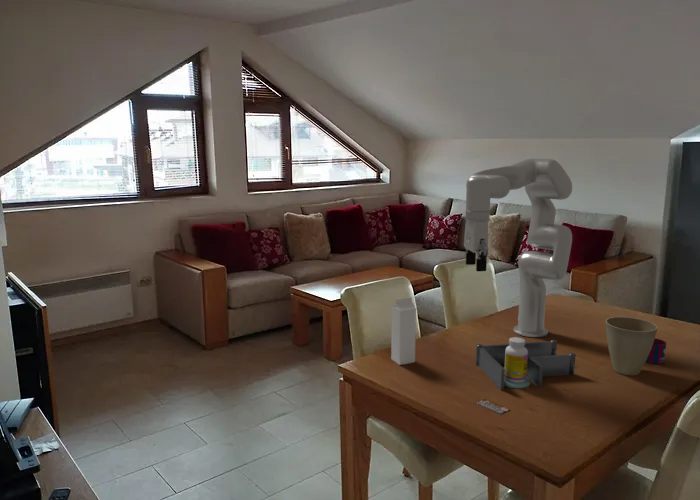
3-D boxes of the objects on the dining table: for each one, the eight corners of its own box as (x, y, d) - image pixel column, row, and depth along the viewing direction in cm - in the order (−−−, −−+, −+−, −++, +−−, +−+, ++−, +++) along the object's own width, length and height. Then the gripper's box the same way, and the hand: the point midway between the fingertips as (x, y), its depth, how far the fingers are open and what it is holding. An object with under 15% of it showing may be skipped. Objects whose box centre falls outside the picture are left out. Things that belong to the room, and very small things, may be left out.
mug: (659, 366, 191) (661, 346, 190) (628, 357, 199) (630, 338, 197) (667, 361, 195) (669, 341, 194) (637, 352, 203) (639, 334, 202)
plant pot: (650, 384, 177) (655, 334, 174) (598, 374, 185) (602, 326, 182) (654, 367, 190) (659, 321, 187) (605, 358, 198) (609, 313, 194)
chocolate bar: (514, 412, 161) (514, 410, 161) (503, 418, 158) (503, 415, 158) (482, 398, 170) (482, 396, 169) (471, 403, 167) (471, 401, 166)
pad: (495, 377, 183) (495, 374, 183) (522, 375, 185) (522, 373, 185) (507, 389, 175) (507, 386, 175) (535, 387, 176) (535, 384, 176)
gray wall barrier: (474, 363, 194) (475, 344, 193) (554, 358, 198) (555, 339, 197) (499, 390, 174) (500, 368, 173) (586, 383, 178) (588, 362, 177)
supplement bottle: (525, 385, 176) (528, 344, 173) (503, 382, 178) (505, 342, 175) (526, 376, 182) (529, 337, 179) (504, 373, 184) (506, 335, 181)
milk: (415, 362, 196) (416, 299, 191) (399, 365, 193) (400, 301, 189) (406, 356, 201) (407, 294, 197) (390, 358, 199) (391, 296, 194)
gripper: (457, 212, 195) (456, 262, 198) (475, 219, 178) (473, 274, 181) (479, 211, 196) (477, 261, 199) (499, 219, 179) (496, 273, 182)
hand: (475, 267), depth 190 cm, fingers open, 9 cm apart
